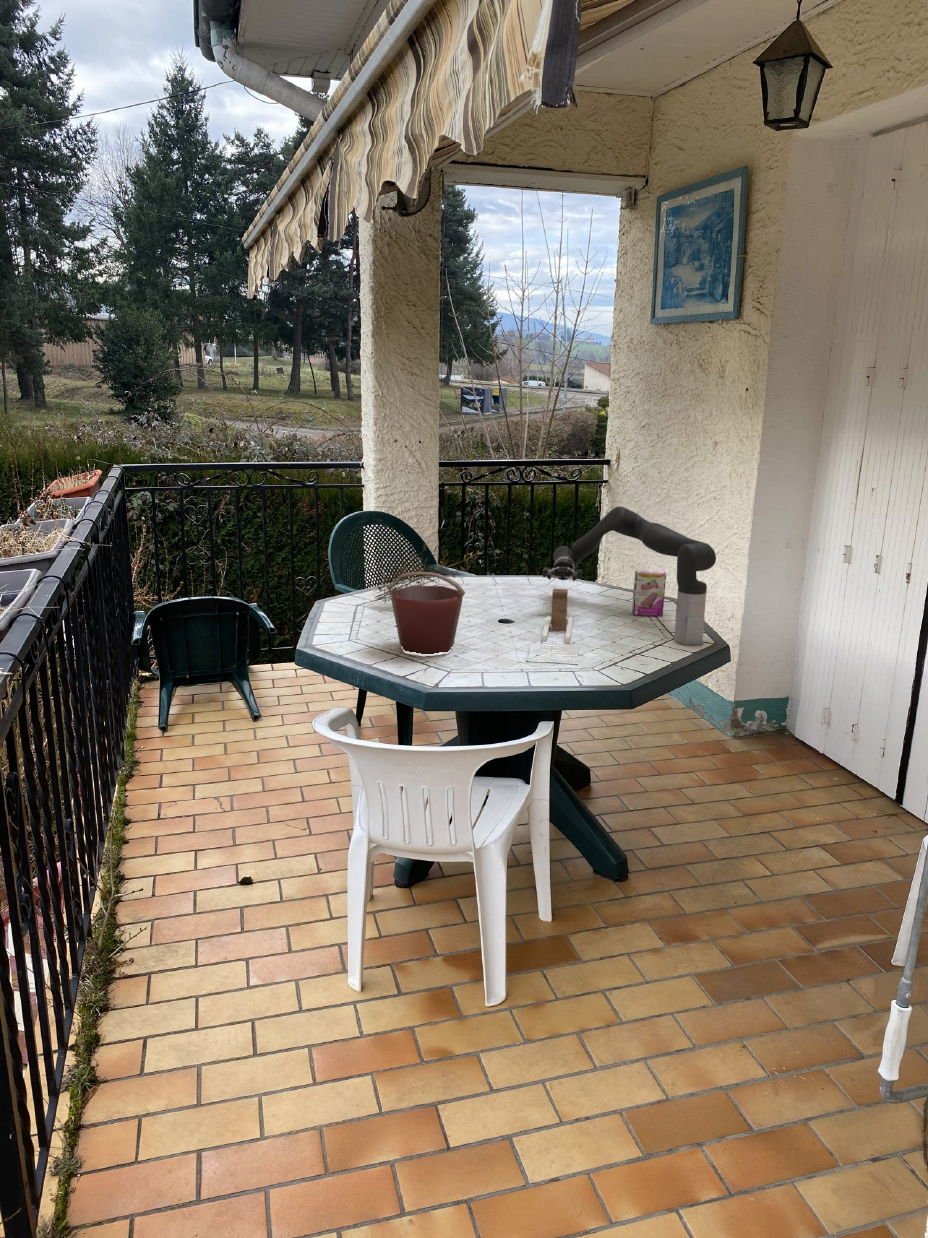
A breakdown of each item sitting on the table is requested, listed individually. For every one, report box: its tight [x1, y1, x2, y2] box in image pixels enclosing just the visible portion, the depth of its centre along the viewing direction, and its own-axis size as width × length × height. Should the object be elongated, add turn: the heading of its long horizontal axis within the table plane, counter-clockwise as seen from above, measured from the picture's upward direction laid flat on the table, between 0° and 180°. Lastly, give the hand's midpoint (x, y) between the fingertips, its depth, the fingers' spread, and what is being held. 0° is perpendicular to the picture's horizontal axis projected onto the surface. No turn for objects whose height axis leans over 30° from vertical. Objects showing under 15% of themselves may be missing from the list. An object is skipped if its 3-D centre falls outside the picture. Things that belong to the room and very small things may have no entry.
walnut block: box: [550, 588, 569, 632], centre depth 311 cm, size 5×5×14 cm
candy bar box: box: [631, 569, 667, 617], centre depth 332 cm, size 11×5×16 cm, turn 84°
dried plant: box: [373, 540, 482, 604], centre depth 333 cm, size 30×31×45 cm
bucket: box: [385, 571, 466, 654], centre depth 285 cm, size 24×22×25 cm
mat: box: [543, 642, 581, 662], centre depth 285 cm, size 20×16×1 cm
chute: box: [541, 616, 574, 645], centre depth 308 cm, size 26×9×2 cm, turn 171°
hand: (561, 577), depth 320 cm, fingers open, 8 cm apart
